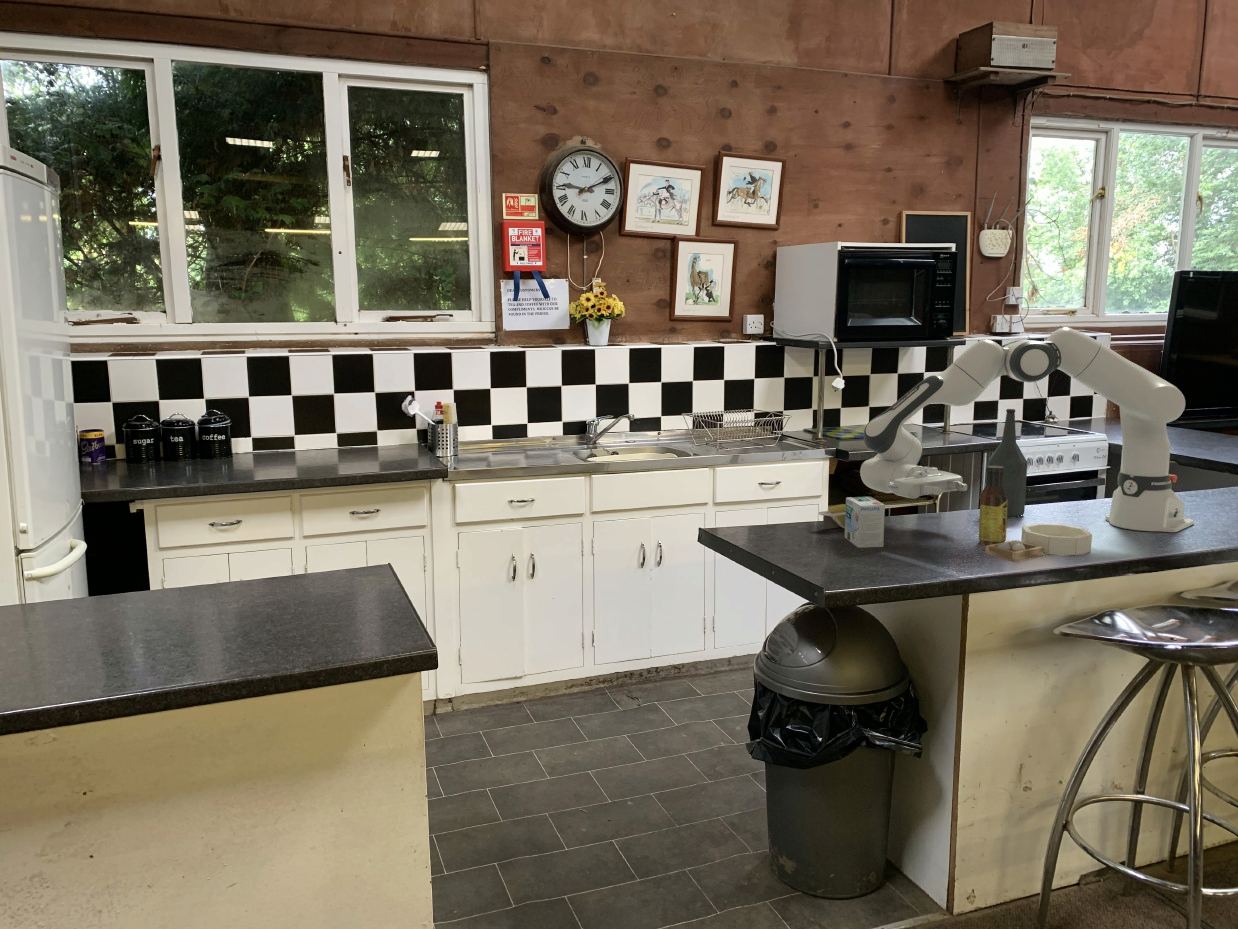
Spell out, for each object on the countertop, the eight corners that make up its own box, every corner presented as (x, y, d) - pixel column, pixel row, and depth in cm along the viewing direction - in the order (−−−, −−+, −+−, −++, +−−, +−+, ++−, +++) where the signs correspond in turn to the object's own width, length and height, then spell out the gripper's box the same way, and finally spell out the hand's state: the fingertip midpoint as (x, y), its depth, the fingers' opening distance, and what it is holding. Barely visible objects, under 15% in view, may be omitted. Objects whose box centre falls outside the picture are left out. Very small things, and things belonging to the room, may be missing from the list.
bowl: (1046, 540, 234) (1048, 521, 233) (1101, 553, 222) (1103, 532, 221) (1009, 548, 227) (1010, 528, 226) (1063, 561, 215) (1065, 540, 214)
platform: (877, 530, 249) (878, 506, 248) (825, 538, 241) (826, 513, 240) (846, 521, 260) (847, 498, 259) (795, 529, 251) (796, 505, 250)
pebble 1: (1001, 552, 220) (1002, 540, 220) (1012, 555, 218) (1013, 543, 217) (993, 554, 219) (994, 542, 218) (1004, 557, 216) (1005, 544, 216)
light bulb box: (843, 537, 240) (845, 496, 238) (869, 537, 240) (870, 496, 239) (858, 548, 229) (859, 505, 228) (884, 547, 230) (886, 504, 228)
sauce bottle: (1007, 550, 226) (1012, 469, 222) (980, 549, 227) (984, 468, 224) (1002, 543, 232) (1006, 464, 229) (975, 542, 233) (980, 464, 230)
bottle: (1031, 516, 262) (1038, 409, 257) (1004, 519, 259) (1010, 411, 254) (1005, 509, 272) (1011, 406, 267) (977, 511, 268) (983, 407, 263)
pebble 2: (1014, 550, 222) (1015, 538, 222) (1026, 553, 220) (1026, 540, 219) (1006, 552, 221) (1007, 539, 220) (1017, 554, 218) (1018, 542, 218)
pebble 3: (1016, 553, 219) (1017, 541, 219) (1028, 556, 216) (1028, 544, 216) (1008, 555, 218) (1009, 543, 217) (1019, 558, 215) (1020, 545, 215)
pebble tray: (1012, 551, 224) (1013, 540, 224) (1042, 558, 217) (1043, 547, 217) (985, 557, 219) (985, 545, 219) (1014, 565, 212) (1015, 553, 212)
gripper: (883, 473, 244) (925, 481, 232) (937, 466, 254) (979, 474, 242) (882, 496, 245) (923, 506, 233) (936, 489, 255) (978, 497, 243)
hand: (952, 489), depth 238 cm, fingers open, 8 cm apart
